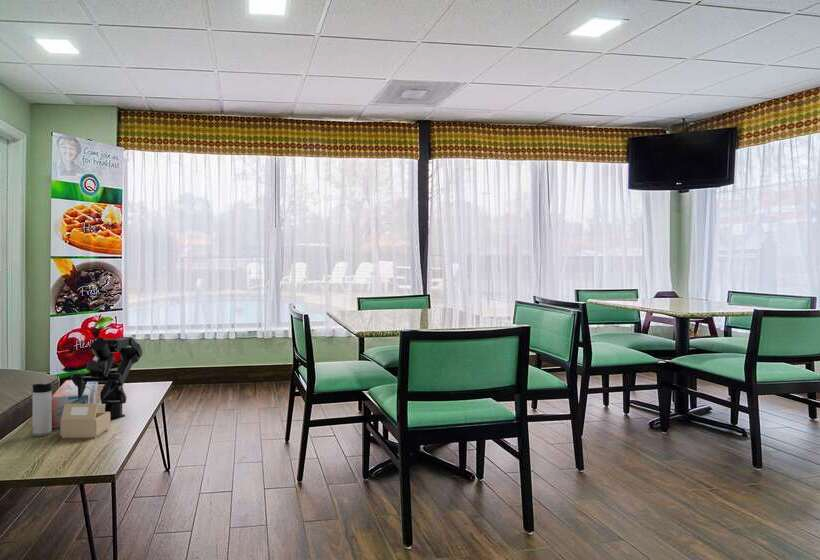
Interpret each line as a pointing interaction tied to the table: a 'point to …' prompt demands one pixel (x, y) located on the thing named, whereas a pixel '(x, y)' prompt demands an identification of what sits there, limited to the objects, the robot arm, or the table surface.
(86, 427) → the carton
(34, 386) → the travel mug
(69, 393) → the soda box
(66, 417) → the carton flap
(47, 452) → the table surface
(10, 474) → the table surface
